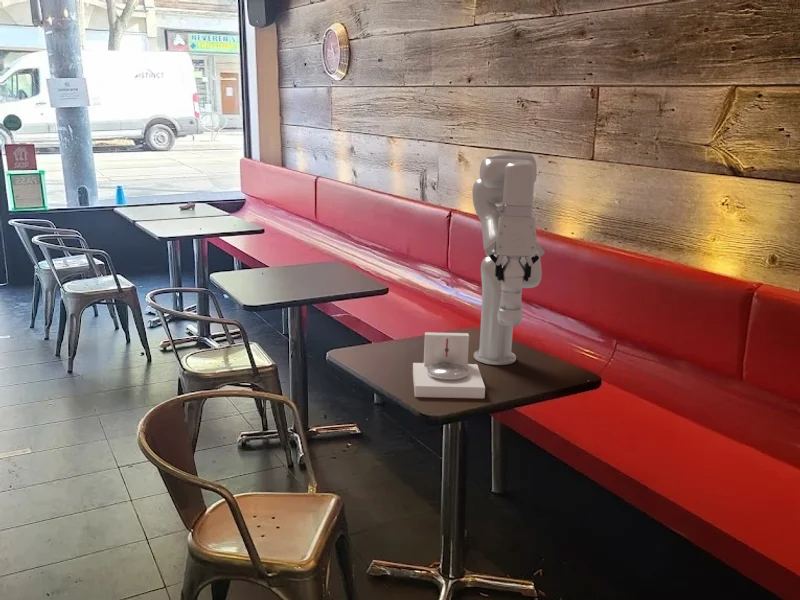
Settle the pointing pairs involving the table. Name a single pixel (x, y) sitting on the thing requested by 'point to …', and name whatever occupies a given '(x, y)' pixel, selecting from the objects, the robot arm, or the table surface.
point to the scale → (447, 351)
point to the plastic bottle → (511, 292)
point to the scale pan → (447, 371)
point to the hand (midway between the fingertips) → (512, 279)
